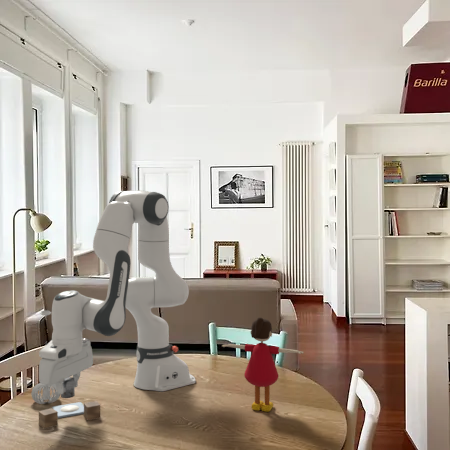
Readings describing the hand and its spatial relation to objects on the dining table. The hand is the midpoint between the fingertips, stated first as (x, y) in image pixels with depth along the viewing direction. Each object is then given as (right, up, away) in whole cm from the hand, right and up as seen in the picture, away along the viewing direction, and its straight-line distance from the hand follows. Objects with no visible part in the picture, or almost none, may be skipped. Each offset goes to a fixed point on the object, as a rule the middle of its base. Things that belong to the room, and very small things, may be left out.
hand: (67, 390), depth 161 cm
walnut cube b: (-4, -9, -4) cm, 11 cm away
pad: (-1, -9, +6) cm, 11 cm away
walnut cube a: (+7, -9, +2) cm, 11 cm away
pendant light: (-11, -9, +15) cm, 20 cm away
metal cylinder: (0, -2, 0) cm, 2 cm away
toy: (+59, -9, +7) cm, 60 cm away
